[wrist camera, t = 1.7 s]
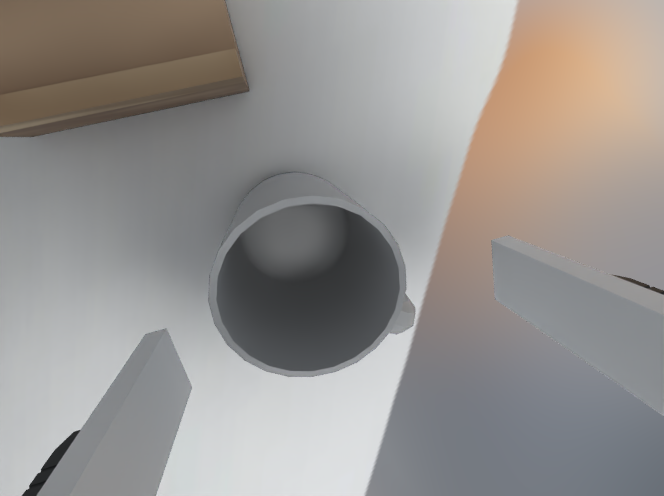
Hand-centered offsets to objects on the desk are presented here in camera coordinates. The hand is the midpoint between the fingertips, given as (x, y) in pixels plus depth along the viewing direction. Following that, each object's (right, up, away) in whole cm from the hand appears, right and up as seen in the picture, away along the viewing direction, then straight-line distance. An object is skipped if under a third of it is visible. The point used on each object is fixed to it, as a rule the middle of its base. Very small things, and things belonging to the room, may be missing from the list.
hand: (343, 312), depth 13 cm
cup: (-2, +3, +8) cm, 9 cm away
